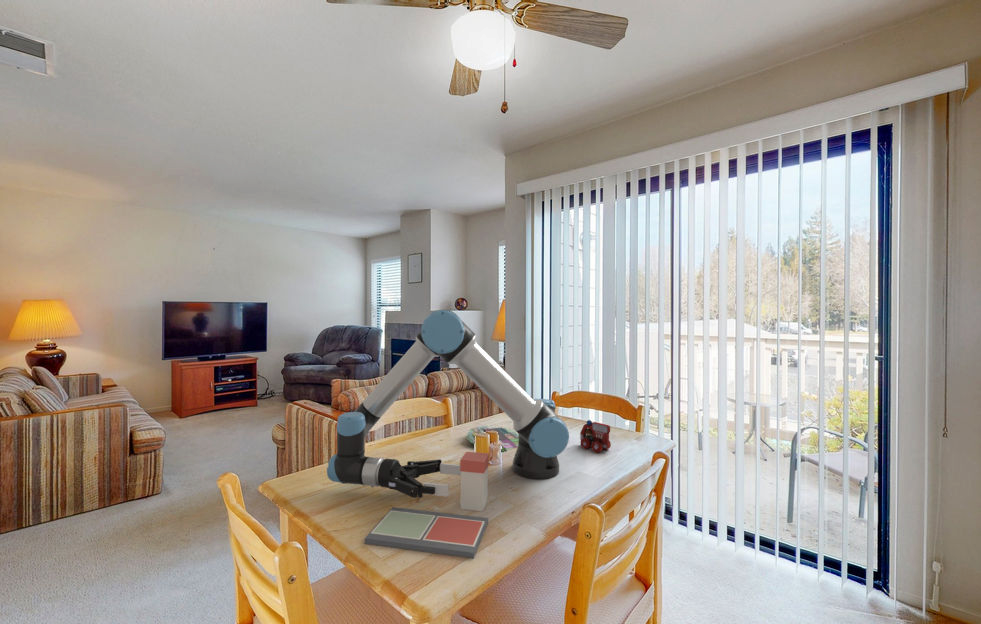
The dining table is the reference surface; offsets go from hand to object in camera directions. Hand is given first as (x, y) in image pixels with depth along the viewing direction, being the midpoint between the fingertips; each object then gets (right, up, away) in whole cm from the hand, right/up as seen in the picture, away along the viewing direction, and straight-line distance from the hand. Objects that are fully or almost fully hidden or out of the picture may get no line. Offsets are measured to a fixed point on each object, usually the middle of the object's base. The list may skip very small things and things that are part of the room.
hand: (455, 479), depth 115 cm
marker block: (+5, -6, -1) cm, 8 cm away
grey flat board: (-5, -6, -15) cm, 17 cm away
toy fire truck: (+49, -7, +46) cm, 67 cm away
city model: (+11, -6, +51) cm, 53 cm away
